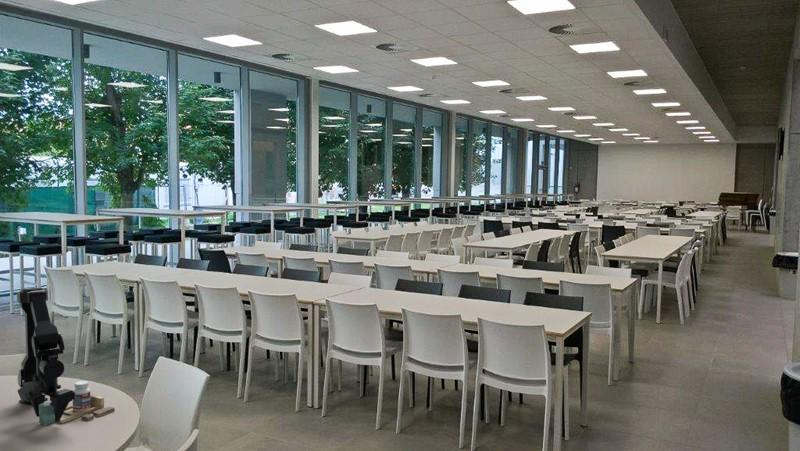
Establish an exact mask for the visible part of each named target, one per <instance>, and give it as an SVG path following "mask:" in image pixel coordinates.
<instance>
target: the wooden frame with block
mask: <svg viewBox="0 0 800 451" xmlns="http://www.w3.org/2000/svg"><path fill="white" fill-rule="evenodd" d="M49 403H51V401H46V402H44V403H43V404H40V405H39V417H38V424H40V425H44V426H47V425H49V424H53V423H55V416H54V407H53V406H52V405H50V404H49ZM103 408H105V397H103V396H99V395H94V394H91V393H90V408H89V409H88V410H85V411H74V410H73V404H71V405H67V407H66V409H65V411H64V413H63V414H66V415H67V416H66V417H61V419H60V421H59V422H58V423H61V424H64V423H66V422H69V421H72V420H74V419H78V418H80V417H82V416H84V415H86V414H88V415H89V414H91V413H93V412H95V411H97V410H100V409H103ZM68 415H69V416H68Z"/></svg>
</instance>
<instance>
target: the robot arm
mask: <svg viewBox="0 0 800 451" xmlns="http://www.w3.org/2000/svg"><path fill="white" fill-rule="evenodd" d="M48 291H49V290H48V289H43V287H42V286H35V287H34V286H33V287H22V288H21V289H20V291H17V293H16V299H17V300H16V301H17V302H18V303H19V304H18V305H19V307H20V308H21V310H22V311H23V313H24V316H25V317H24V322H25V356H24V358H23V360H22V361H21V362H20V369H19V370H18V375H17V384H18V386H19V388H18V390H17V394H18V396H19V398H20V399H19V400H18V402H19V403H22V404H25V405H29V406H32V409H33V411H34V413H35V415H36V417H37V418H39V405H40V404H43V403H45V401H47V400H48V399H49V400H50V401H49V402H50V403H49V404H50V405H52V406H53V407H54V416H55V421H54V423H60V422H59V421H60V419H61V418H63V416H64V414H65V413H64V411H65V409H66V407H68V406H69V404H70V403H71V402H73V399H75V392H74V391H73V390H74V389H73V390H72V389H68V388H63V389H61V388H62V385H61V384H59V383H58V381H59V380H58V379H59V378H60V377H61V376H62V375H63V374H64V372H65V364H64V363H63V362H62V361H61V359H60V358H59V355H60V354H61V355H62V354H64V350H65V344H64V338H63V336H62V334H61V333H60V332H59V330H58V327H57V326H56V325H55V324H53V323H52V322H51V316H50V312H49V308H48V306H47V302H48V301H49V295H48V293H49V292H48ZM47 396H48V397H49V398H48V397H47Z"/></svg>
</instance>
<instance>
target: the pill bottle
mask: <svg viewBox="0 0 800 451" xmlns="http://www.w3.org/2000/svg"><path fill="white" fill-rule="evenodd" d="M73 391H74V392H75V399H73V400H72V405H73V410H74V411H85V410H88V409H89V408H90V394H91V388H90V387H89V382H88V380H79V381H76V382H75V383H74V389H73Z"/></svg>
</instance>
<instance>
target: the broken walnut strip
mask: <svg viewBox="0 0 800 451" xmlns="http://www.w3.org/2000/svg"><path fill="white" fill-rule="evenodd" d="M114 412H115V407H112V406H106V407H105V406H104V408H102V409H99V410H97V411H94V412H92V415H91V414H89V413H88V414H86V415H83V416H81V420H84V421H86V422H89V421H91V420H94V418H95V417H98V418H100V417H102V416H104V415H108V414H111V413H114Z"/></svg>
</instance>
